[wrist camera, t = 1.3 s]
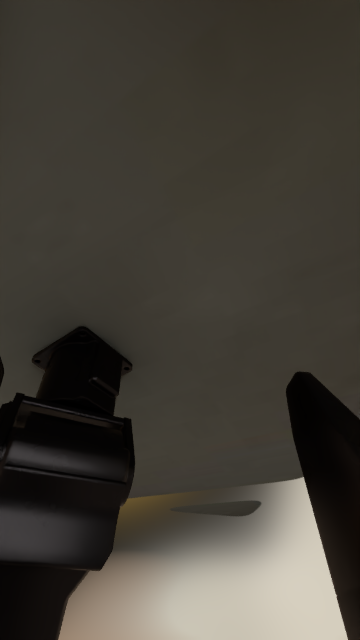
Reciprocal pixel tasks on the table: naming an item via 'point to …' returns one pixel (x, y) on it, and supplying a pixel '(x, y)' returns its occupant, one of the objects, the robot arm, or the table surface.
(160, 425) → the table surface
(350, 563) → the robot arm
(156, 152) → the table surface
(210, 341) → the table surface
